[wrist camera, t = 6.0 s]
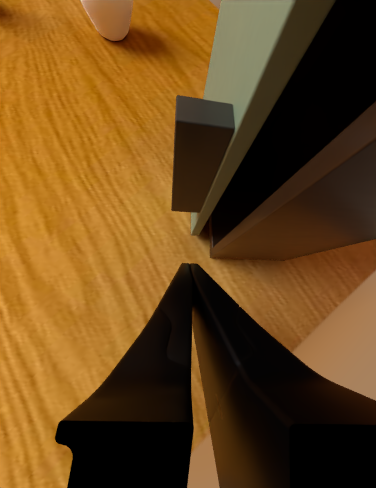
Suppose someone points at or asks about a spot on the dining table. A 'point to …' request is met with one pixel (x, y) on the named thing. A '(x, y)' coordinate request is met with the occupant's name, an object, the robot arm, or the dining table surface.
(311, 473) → the robot arm
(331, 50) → the cupboard
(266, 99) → the sliding door
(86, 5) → the apple
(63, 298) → the dining table surface
